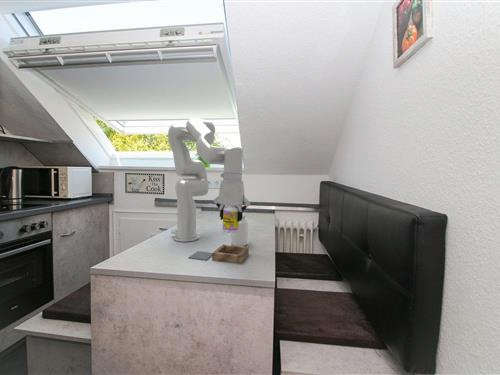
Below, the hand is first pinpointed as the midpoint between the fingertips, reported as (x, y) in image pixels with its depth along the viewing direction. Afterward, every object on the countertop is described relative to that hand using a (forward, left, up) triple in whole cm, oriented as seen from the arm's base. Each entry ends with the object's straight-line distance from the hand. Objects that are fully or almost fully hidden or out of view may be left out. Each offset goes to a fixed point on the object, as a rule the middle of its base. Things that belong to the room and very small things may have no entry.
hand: (230, 219), depth 98 cm
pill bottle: (-1, +18, -16) cm, 24 cm away
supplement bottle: (0, 0, -5) cm, 5 cm away
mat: (-11, -3, -16) cm, 20 cm away
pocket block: (+1, 0, -16) cm, 16 cm away
